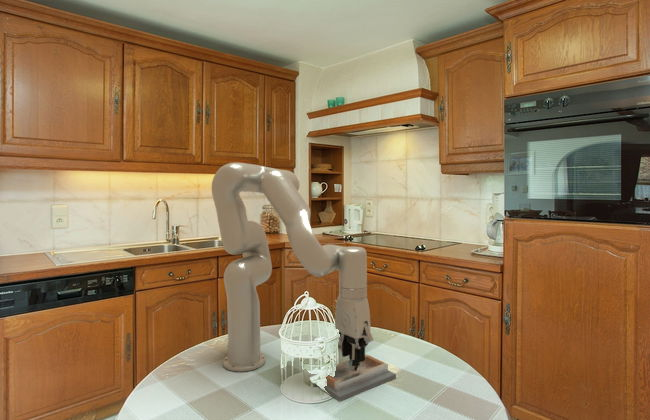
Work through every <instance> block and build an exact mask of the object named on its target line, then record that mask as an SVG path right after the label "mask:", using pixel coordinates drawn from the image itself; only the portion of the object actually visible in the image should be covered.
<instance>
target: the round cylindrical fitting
mask: <svg viewBox="0 0 650 420" xmlns="http://www.w3.org/2000/svg"><path fill="white" fill-rule="evenodd" d="M346 338H347V342H349V343H350V344H352V350H351V353H350V354H349V355H348V356H349V358H348V359H349V360H350V361H349V366H350V370H351V372H354V371H357V368H358V365H359V368H360V363H355V348H356V342H355V339H354V338H352V337H349V336H347V335H346ZM359 340H360V342H361V341H362V338H360V339H359Z"/></svg>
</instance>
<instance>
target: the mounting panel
mask: <svg viewBox="0 0 650 420" xmlns="http://www.w3.org/2000/svg"><path fill="white" fill-rule="evenodd" d="M395 379H397V373H395V372H394V371H391V370H389V369H388V372H387V373H385V374H382V375H380V376H377V377H375V378H372V379H370V380H367V381H365V382H362V383H360V384H357V385H355V386H352V387H350V388H347V389H344V390H342V391H339V392H337V391H335V390H333V389H332V388H330V387H329V386H325V387H324V388H325V390H326V391H327V392H328V393H329V394H330V395H329V394H328V393H327V394H328V395H329V396H331V397H333V398H334V399H335V400H337V401H338V402H342V401H346V400H348V399H349V398H352V397H354V396H357V395H359V394H361V393H363V392H366V391H369V390H372V389H374V388H376V387H378V386H381V385H383V384H385V383H388V382H390V381H393V380H395Z"/></svg>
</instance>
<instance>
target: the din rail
mask: <svg viewBox="0 0 650 420" xmlns="http://www.w3.org/2000/svg"><path fill="white" fill-rule="evenodd" d="M349 361H350V359H347V360H345V361H342V362H339V363H337V365H336V364H335V365H336V371H335V376H334V377H332V376H330V375H328V376H327V377H326V379H327V386H329V387H330V388H332V389H333V390H335V391H337V392H339V391H342V390H344V389H347V388H350V387H352V386H355V385H357V384H360V383H362V382H365V381H367V380H370V379H372V378H375V377H377V376H380V375H382V374H385V373H387V372H388V370H389V364H388V363H386V362H384V361H381V360H380V359H377V358H375V357H374V356H371V355H369V354H367V353H365V361H362V362H360V368H359V365H358V368H357V371H354V372H351V370H350V366H349Z"/></svg>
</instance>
